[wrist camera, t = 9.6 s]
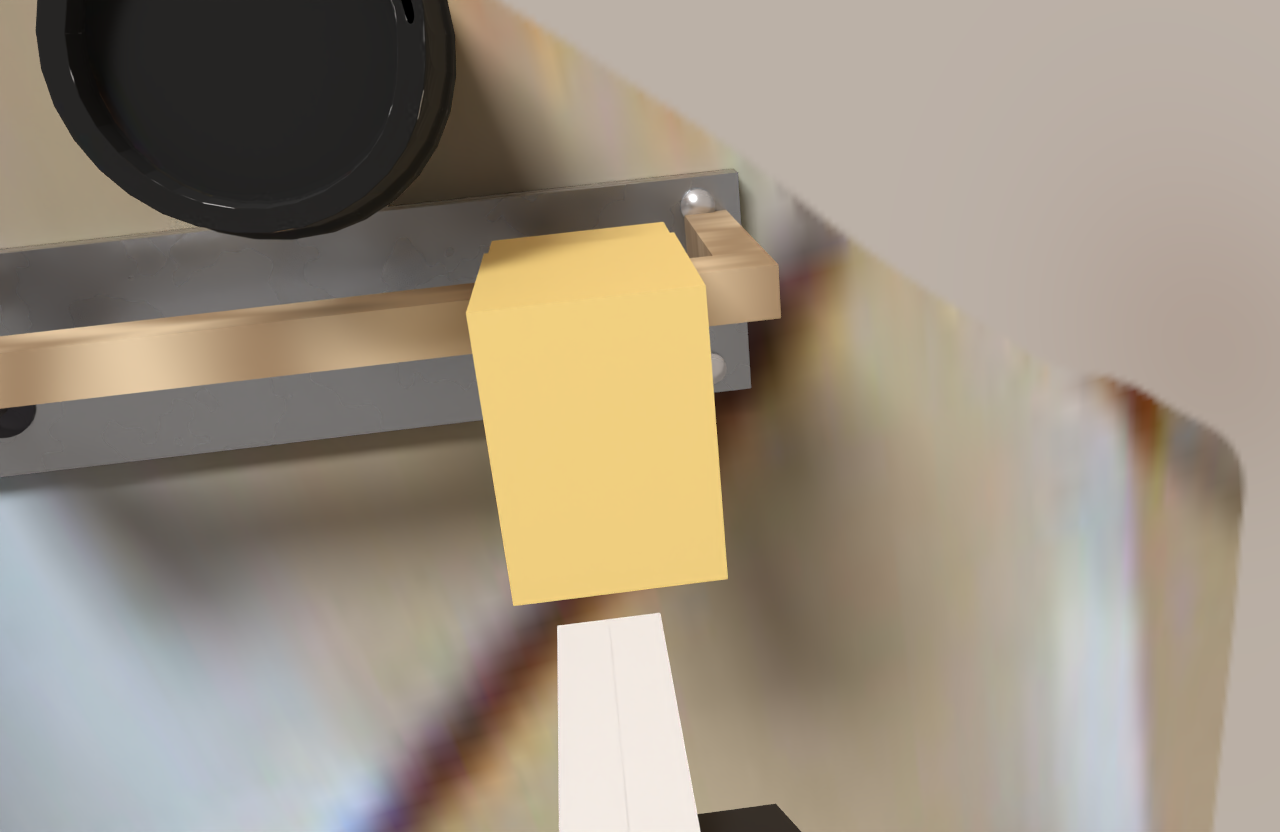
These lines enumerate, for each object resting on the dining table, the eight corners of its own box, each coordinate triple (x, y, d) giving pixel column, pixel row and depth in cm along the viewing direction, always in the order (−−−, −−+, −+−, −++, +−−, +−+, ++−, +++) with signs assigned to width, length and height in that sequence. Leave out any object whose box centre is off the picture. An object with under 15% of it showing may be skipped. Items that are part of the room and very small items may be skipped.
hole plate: (-48, 473, 38) (-66, 486, 37) (-126, 263, 36) (-148, 270, 34) (746, 379, 40) (752, 390, 39) (733, 168, 37) (738, 173, 36)
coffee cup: (521, 132, 36) (501, 200, 22) (288, 200, 36) (120, 309, 22) (441, -130, 33) (358, -248, 19) (188, -56, 33) (-82, -117, 19)
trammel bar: (-71, 423, 37) (-270, 549, 28) (-124, 282, 35) (-354, 369, 26) (733, 329, 38) (789, 422, 29) (724, 188, 36) (780, 240, 27)
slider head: (527, 393, 38) (513, 605, 24) (499, 200, 35) (465, 313, 21) (663, 377, 38) (727, 579, 24) (645, 184, 35) (705, 285, 21)
